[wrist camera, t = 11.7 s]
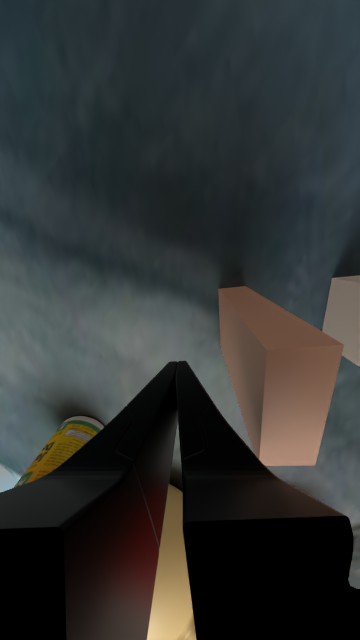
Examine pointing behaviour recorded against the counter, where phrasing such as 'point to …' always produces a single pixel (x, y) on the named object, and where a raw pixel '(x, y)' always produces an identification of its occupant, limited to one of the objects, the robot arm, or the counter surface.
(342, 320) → the domino
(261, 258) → the counter surface
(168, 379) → the robot arm
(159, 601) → the pale yellow round lump
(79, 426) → the supplement bottle
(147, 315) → the counter surface
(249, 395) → the domino
